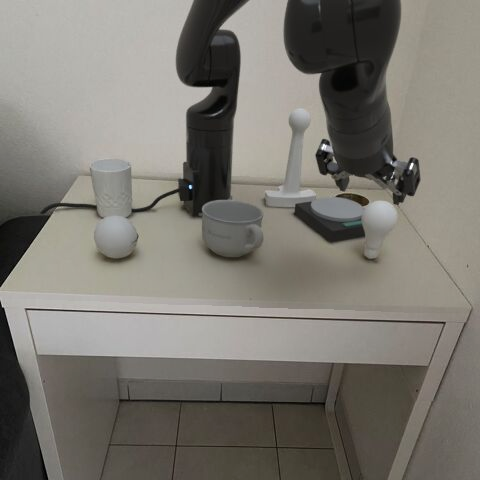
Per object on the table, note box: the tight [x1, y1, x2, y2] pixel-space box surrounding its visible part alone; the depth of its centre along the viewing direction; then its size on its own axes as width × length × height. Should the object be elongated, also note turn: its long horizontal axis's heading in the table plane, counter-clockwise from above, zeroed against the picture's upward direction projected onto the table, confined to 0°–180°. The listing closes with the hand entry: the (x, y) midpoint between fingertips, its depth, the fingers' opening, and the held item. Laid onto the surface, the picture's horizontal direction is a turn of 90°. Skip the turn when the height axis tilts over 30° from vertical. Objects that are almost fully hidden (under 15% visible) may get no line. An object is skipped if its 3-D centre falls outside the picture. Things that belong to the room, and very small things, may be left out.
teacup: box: [201, 199, 264, 258], centre depth 87 cm, size 14×11×8 cm
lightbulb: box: [361, 199, 399, 260], centre depth 88 cm, size 6×6×11 cm
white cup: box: [88, 157, 133, 219], centre depth 98 cm, size 8×8×10 cm
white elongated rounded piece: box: [93, 215, 139, 259], centre depth 86 cm, size 10×7×7 cm
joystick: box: [263, 107, 317, 208], centre depth 106 cm, size 11×8×20 cm
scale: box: [293, 196, 366, 243], centre depth 102 cm, size 13×14×3 cm
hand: (371, 192), depth 75 cm, fingers open, 8 cm apart
